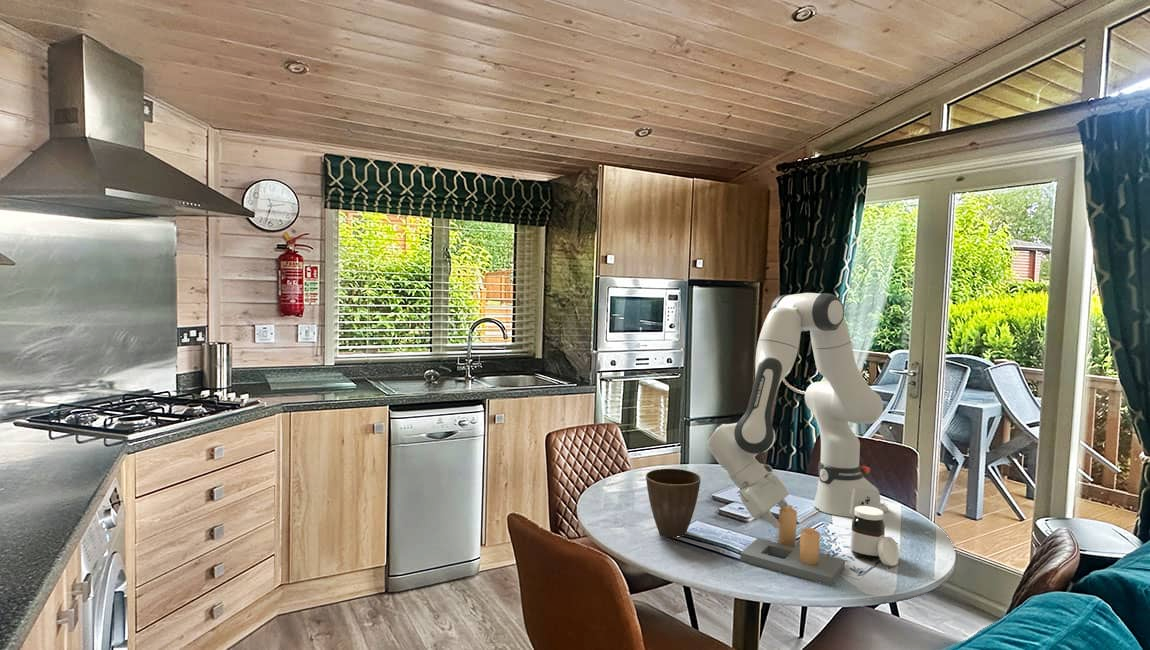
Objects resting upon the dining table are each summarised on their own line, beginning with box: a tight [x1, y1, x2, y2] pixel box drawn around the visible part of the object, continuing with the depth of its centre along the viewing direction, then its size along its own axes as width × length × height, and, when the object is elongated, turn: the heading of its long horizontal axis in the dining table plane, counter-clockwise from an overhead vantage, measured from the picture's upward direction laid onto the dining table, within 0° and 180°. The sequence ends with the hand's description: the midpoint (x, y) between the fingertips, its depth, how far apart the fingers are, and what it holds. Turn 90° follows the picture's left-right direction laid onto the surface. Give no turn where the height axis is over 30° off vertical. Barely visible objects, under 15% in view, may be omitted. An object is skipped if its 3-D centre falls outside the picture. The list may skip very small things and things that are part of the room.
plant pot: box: [645, 468, 702, 538], centre depth 178 cm, size 15×15×16 cm
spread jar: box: [850, 506, 900, 567], centre depth 165 cm, size 12×11×12 cm
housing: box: [739, 526, 846, 586], centre depth 160 cm, size 22×12×10 cm, turn 54°
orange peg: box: [777, 505, 798, 547], centre depth 172 cm, size 4×4×10 cm
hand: (784, 521), depth 173 cm, fingers open, 8 cm apart
